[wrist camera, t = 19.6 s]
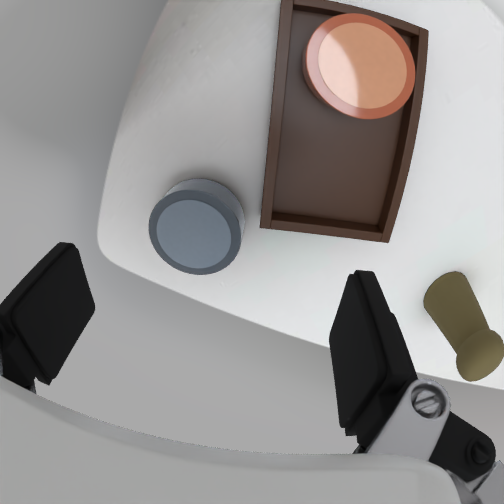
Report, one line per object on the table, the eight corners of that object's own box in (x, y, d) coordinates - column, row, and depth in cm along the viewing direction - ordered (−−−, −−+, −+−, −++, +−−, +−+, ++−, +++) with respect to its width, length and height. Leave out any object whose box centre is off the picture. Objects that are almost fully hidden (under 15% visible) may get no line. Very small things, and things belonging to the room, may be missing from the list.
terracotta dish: (295, 105, 19) (300, 108, 15) (304, 17, 15) (310, 2, 12) (387, 122, 18) (408, 131, 15) (397, 38, 15) (419, 31, 11)
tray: (260, 217, 24) (259, 228, 22) (281, 1, 15) (281, -7, 13) (381, 231, 24) (388, 243, 22) (417, 33, 14) (429, 30, 13)
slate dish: (167, 245, 26) (152, 270, 23) (163, 171, 22) (144, 187, 19) (243, 253, 26) (238, 280, 23) (249, 177, 22) (244, 194, 19)
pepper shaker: (474, 288, 26) (517, 358, 17) (437, 321, 29) (470, 395, 20) (454, 261, 25) (506, 338, 15) (414, 299, 27) (450, 382, 18)
